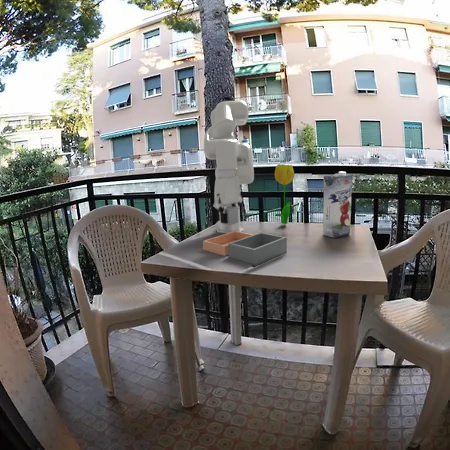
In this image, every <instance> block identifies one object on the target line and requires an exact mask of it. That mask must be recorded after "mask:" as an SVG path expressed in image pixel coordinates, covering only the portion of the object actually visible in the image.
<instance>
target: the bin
mask: <svg viewBox="0 0 450 450" xmlns="http://www.w3.org/2000/svg"><path fill="white" fill-rule="evenodd" d="M287 240H288V238H287V237H286V236H281V235H276V234H271V233H266V232H258V233H255V234H253V235H252V236H249V237H246V238H243V239H240V240H237V241H234V242H231V243H228V249H229V255H228V258H230V259H234V260H237V261H241V262H245V263H249V264H252V265H251V267H253V268H255V267H258V266H261V265H263V264H266V263H267V262H269V261H272V260H274V259H277V258H279V257H282V256H283V255H286V254H287V248H288V247H287V244H288V243H287Z"/></svg>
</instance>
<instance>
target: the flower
mask: <svg viewBox="0 0 450 450" xmlns="http://www.w3.org/2000/svg"><path fill="white" fill-rule="evenodd" d="M294 178H295V171H294V168H293V164H290V165H289V164H287V165H286V164H284V163H283V164H282V163H281V164H277V165H276V166H275V170H274V179H275V181H276V182H278V183H279V184H281V185H282V186H283V193H284V194H283V202H284V203H283V208H282V211H281V213H280V212H279V213H278V214H279V215H280V219H281V223H282V224H283V225H286V224H288V219H289V217H290V213H291V206H290V205H291V202H290V201H288V202H287V203H286V186H287V185H288V184H290V183H291V182H292V181H293V180H294Z"/></svg>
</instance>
